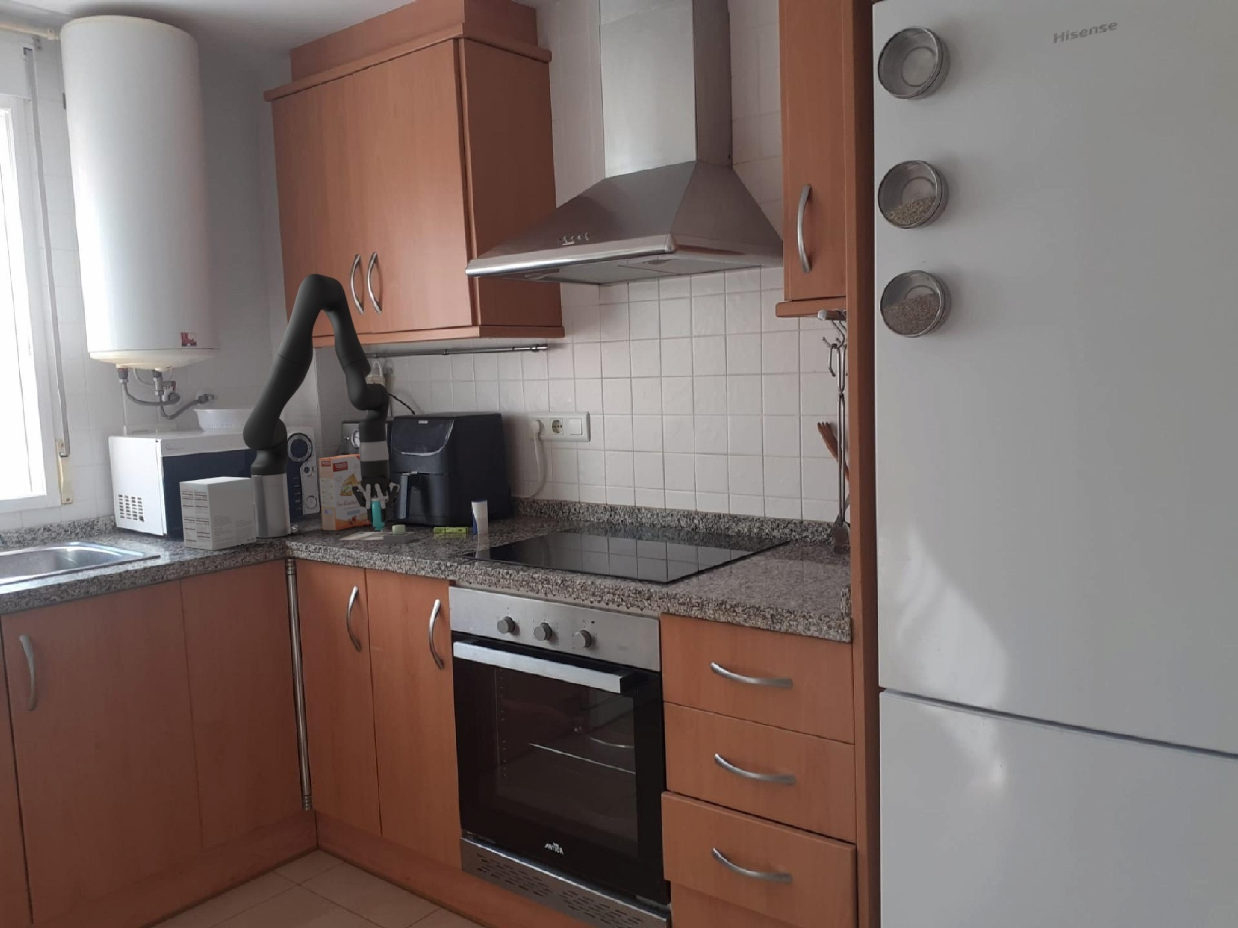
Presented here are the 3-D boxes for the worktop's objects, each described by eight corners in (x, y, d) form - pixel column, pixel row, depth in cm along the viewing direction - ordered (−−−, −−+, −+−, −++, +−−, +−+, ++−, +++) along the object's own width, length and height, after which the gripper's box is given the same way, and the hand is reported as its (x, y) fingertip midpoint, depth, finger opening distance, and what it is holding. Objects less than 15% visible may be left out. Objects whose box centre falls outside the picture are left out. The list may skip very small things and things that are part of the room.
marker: (371, 530, 263) (369, 499, 262) (376, 528, 266) (374, 497, 265) (382, 530, 263) (379, 498, 262) (387, 528, 266) (384, 497, 265)
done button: (390, 538, 252) (390, 526, 251) (396, 536, 255) (395, 524, 254) (402, 538, 251) (401, 526, 251) (407, 536, 254) (406, 524, 254)
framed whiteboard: (334, 542, 258) (333, 539, 258) (357, 534, 271) (357, 531, 271) (390, 542, 255) (390, 539, 255) (411, 534, 267) (411, 531, 267)
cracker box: (337, 532, 275) (332, 458, 273) (321, 531, 277) (316, 458, 275) (372, 524, 287) (367, 453, 285) (356, 523, 290) (351, 453, 288)
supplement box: (227, 538, 271) (223, 476, 269) (257, 542, 264) (252, 477, 262) (183, 547, 260) (177, 481, 258) (212, 550, 253) (207, 483, 251)
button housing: (383, 545, 251) (383, 535, 251) (393, 541, 257) (393, 531, 256) (405, 545, 249) (404, 535, 249) (415, 541, 255) (414, 531, 255)
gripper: (343, 460, 260) (348, 524, 262) (392, 459, 257) (397, 524, 259) (356, 457, 268) (361, 520, 269) (404, 456, 265) (408, 519, 266)
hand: (378, 521), depth 264 cm, fingers closed on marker, 3 cm apart
